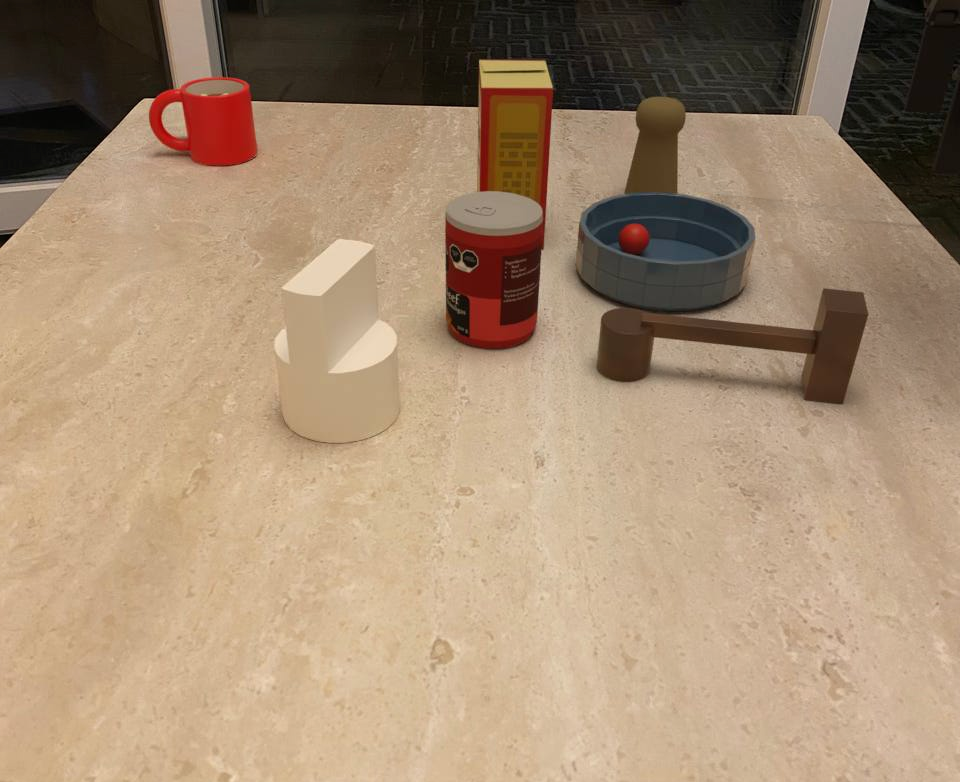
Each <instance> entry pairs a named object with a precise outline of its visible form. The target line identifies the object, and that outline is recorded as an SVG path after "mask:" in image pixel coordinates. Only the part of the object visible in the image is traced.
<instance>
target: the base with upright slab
mask: <svg viewBox="0 0 960 782" xmlns="http://www.w3.org/2000/svg"><path fill="white" fill-rule="evenodd" d="M376 256H377V255H376V245H374V244H372V243H368V242H364V241H360V240H354V239H344V238H338V239H336V240H335V241H333V243H332V244H330V245H329V246H328V247H327V248H326V249H325V250H324V251H322V252H321V253H320V254H319V255H317V256H316V257H315V258H314V259H313V260H312V261H311V262H310V263H308V264H307V265H306V266H305V267H303V269H301V270H300V271H299V272H298V273H297V274H295V276H293V277H292V278H290V280H288V282H287V283H285V284H284V285H283V286H282V287H281V288H280V289H281V298H282V308H283V314H284V315H283V316H284V324H285V325H284V326H285V327H284V328H282V329H281V330H280V332H279V333H278V334H277V335H276V336H275V340H274V344H273V350H274V356H275V366H276V373H277V380H278V389H279V397H280V398H279V399H280V405H281V413H282V417H283V421H284V423H285V424H286V426H287V427H288V429H290V430H291V431H292V432H294V433H295V434H297V435H299V436H300V437H302V438H305V439H308V440H312V441H315V442H321V443H328V444H336V443H337V444H347V443H353V442H358V441H363V440H367V439H369V438H372V437H375V436H377V435H378V434H380V433H382V432H384V431H386V430H387V429H388V428H389V427H391V426H392V425H394V423H395V422H396V420H397V418H398V416H399V414H400V404H401V403H400V386H399V385H400V383H399V381H400V380H399V355H398V354H399V353H398V336H397V334H396V332H395V330H394V329H393V327H392V326H390V325H389V324H388V323H387V322H385V321H383V320H381V319H380V318H379V298H378V296H379V295H378V278H377V259H376V258H377V257H376Z"/></svg>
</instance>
